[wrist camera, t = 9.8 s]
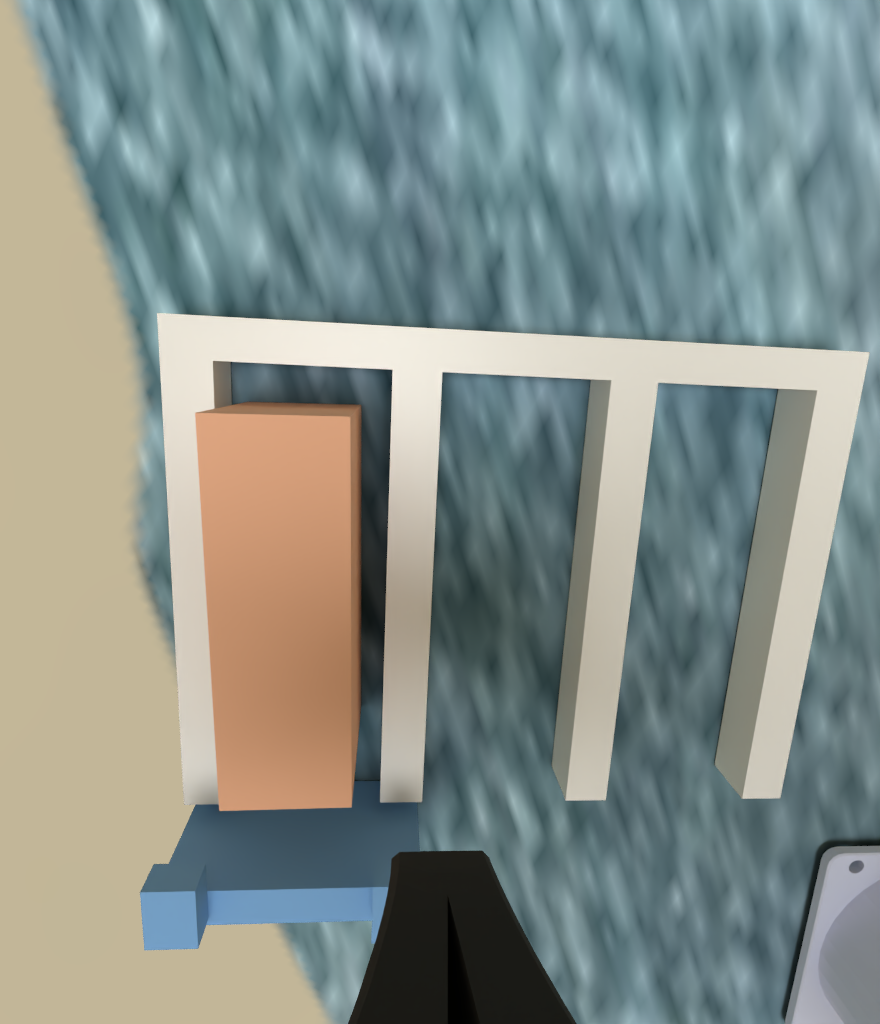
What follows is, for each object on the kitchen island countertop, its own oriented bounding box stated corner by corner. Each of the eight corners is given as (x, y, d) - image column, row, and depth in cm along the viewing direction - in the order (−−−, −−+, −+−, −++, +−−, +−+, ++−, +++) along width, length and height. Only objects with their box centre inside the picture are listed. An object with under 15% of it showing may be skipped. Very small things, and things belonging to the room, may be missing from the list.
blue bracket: (416, 758, 19) (424, 885, 14) (414, 808, 19) (421, 948, 15) (205, 758, 18) (140, 892, 14) (207, 810, 19) (145, 957, 14)
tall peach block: (361, 404, 16) (350, 417, 12) (361, 703, 18) (351, 807, 14) (248, 401, 16) (195, 412, 12) (260, 705, 18) (218, 810, 14)
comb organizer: (825, 354, 17) (869, 352, 15) (749, 764, 20) (780, 798, 18) (181, 319, 15) (157, 313, 14) (201, 767, 18) (184, 804, 17)
